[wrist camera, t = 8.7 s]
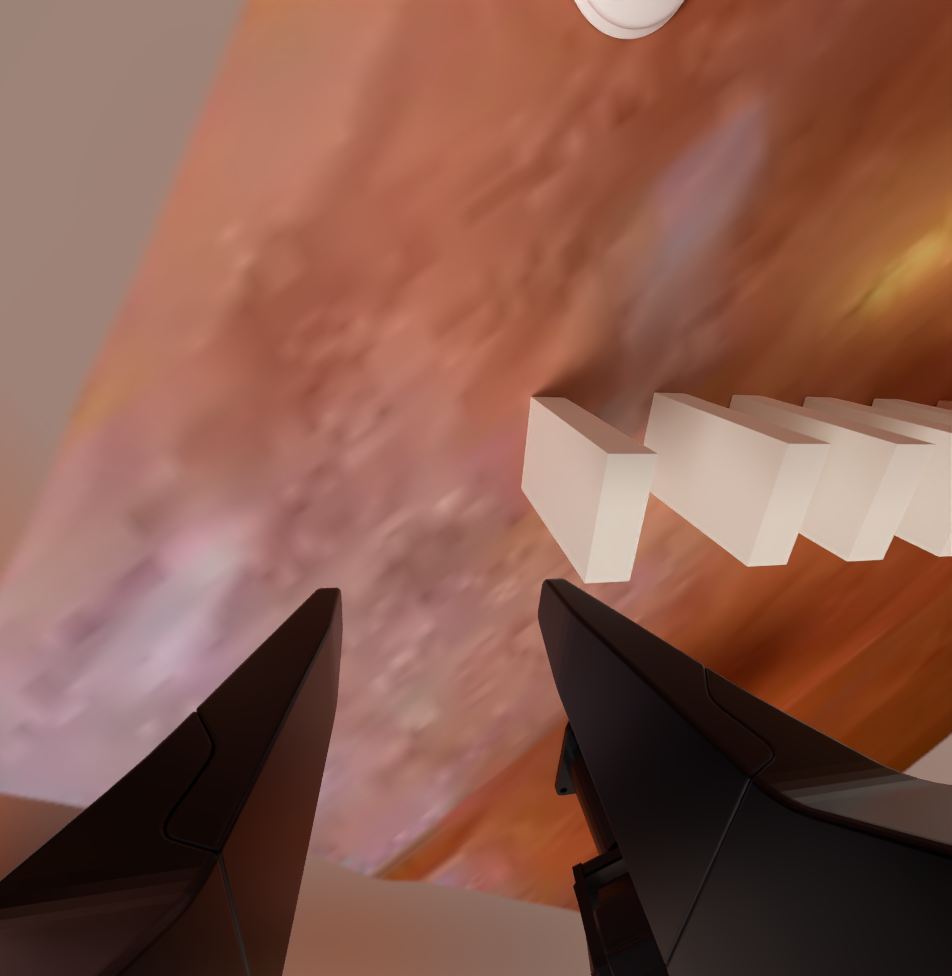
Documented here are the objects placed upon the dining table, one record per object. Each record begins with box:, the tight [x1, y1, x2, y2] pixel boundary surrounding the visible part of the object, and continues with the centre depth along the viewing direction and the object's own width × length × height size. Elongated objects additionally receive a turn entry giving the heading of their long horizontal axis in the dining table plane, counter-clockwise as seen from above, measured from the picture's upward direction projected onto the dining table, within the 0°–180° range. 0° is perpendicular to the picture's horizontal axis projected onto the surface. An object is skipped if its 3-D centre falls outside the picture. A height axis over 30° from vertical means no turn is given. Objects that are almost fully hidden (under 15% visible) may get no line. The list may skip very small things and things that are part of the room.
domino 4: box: [803, 397, 952, 557], centre depth 21 cm, size 4×2×8 cm, turn 177°
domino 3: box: [729, 395, 936, 561], centre depth 20 cm, size 4×2×8 cm, turn 177°
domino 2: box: [643, 393, 831, 567], centre depth 19 cm, size 4×2×8 cm, turn 177°
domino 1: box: [521, 397, 658, 583], centre depth 18 cm, size 4×2×8 cm, turn 177°
